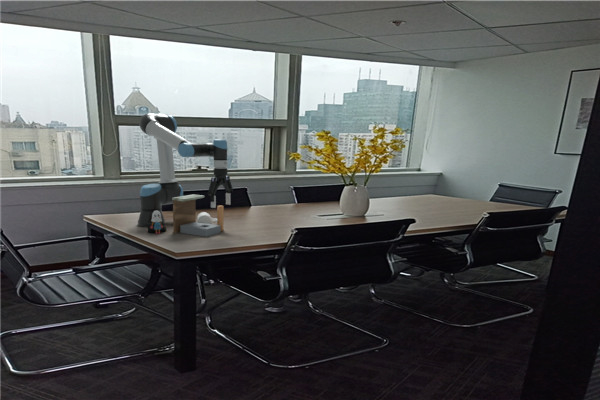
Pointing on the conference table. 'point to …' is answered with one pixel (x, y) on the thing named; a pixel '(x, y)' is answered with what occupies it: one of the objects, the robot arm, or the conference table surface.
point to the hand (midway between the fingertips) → (220, 206)
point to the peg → (220, 217)
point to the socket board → (200, 229)
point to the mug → (205, 218)
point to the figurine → (156, 224)
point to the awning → (184, 210)
